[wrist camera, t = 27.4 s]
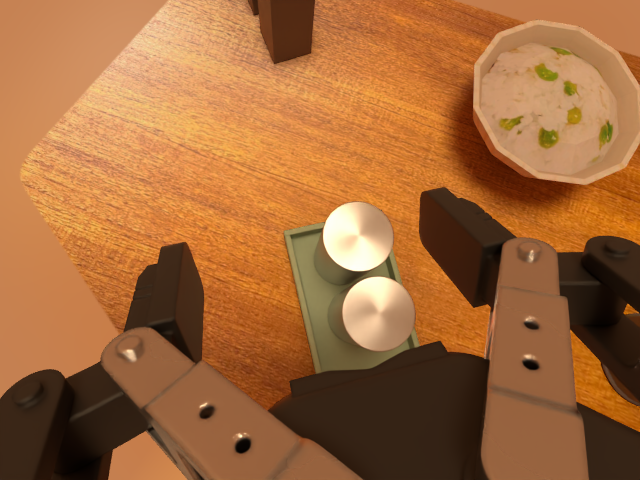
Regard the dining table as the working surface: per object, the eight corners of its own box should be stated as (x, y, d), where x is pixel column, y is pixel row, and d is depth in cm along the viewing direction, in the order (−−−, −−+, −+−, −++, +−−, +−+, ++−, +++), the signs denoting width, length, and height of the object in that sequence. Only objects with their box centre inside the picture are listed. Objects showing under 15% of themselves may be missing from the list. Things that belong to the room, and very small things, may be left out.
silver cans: (387, 335, 42) (424, 341, 31) (335, 349, 42) (352, 360, 30) (358, 227, 45) (383, 194, 33) (308, 239, 44) (315, 209, 32)
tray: (444, 458, 41) (454, 467, 38) (342, 489, 39) (345, 501, 37) (376, 215, 46) (381, 209, 43) (283, 235, 44) (283, 230, 42)
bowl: (561, 64, 52) (624, 5, 42) (603, 200, 48) (682, 169, 39) (424, 76, 50) (457, 17, 40) (457, 219, 46) (501, 192, 37)
